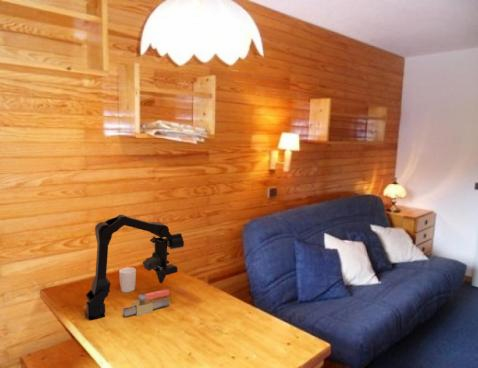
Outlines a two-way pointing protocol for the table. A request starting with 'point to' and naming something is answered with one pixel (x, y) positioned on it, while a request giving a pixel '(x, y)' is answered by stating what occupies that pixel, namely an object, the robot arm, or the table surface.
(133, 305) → the valve
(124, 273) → the white cup
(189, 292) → the table surface
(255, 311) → the table surface
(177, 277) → the table surface
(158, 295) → the lever
